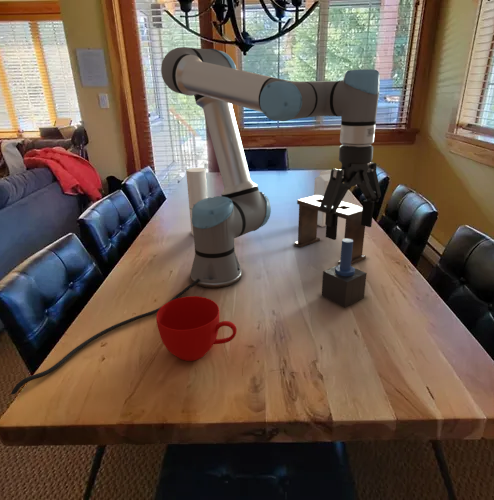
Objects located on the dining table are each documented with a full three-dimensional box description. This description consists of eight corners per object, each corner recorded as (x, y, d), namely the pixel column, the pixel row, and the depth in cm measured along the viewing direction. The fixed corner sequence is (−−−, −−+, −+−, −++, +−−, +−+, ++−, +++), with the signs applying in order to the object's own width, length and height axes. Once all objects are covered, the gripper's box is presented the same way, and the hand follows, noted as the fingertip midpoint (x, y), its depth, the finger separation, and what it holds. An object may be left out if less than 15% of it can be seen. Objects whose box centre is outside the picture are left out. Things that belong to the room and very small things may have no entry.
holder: (344, 307, 96) (346, 282, 93) (321, 295, 102) (322, 271, 99) (363, 297, 100) (366, 272, 97) (340, 286, 106) (342, 262, 103)
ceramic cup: (227, 380, 73) (224, 338, 69) (149, 365, 77) (143, 324, 73) (246, 340, 84) (245, 302, 80) (178, 329, 89) (173, 292, 85)
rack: (345, 267, 118) (350, 215, 111) (294, 244, 135) (295, 199, 128) (365, 258, 123) (371, 209, 116) (313, 238, 140) (315, 194, 134)
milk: (332, 224, 155) (337, 171, 146) (322, 227, 152) (325, 172, 143) (322, 220, 159) (326, 168, 151) (312, 222, 156) (315, 170, 148)
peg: (343, 301, 98) (349, 245, 91) (329, 294, 101) (333, 239, 95) (356, 295, 101) (362, 240, 94) (341, 288, 104) (346, 235, 98)
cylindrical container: (206, 237, 143) (202, 172, 133) (188, 236, 145) (183, 171, 135) (212, 230, 150) (208, 168, 140) (195, 229, 151) (190, 167, 141)
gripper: (332, 152, 75) (326, 248, 84) (402, 140, 89) (391, 224, 98) (305, 148, 81) (302, 239, 89) (375, 138, 95) (367, 217, 103)
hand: (349, 231), depth 94 cm, fingers open, 13 cm apart
